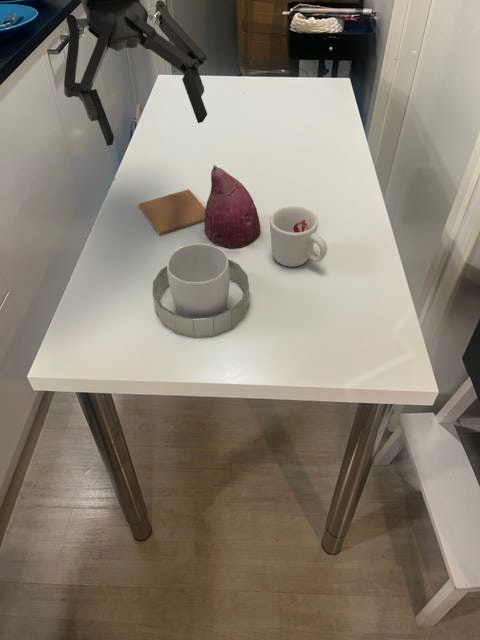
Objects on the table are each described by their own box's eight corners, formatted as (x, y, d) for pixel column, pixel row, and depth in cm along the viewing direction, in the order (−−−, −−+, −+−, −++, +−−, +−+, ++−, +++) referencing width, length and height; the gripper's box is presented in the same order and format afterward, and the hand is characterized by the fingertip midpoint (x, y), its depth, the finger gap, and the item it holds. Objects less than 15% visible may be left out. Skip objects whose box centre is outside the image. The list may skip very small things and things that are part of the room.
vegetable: (204, 258, 92) (174, 195, 81) (215, 220, 98) (188, 156, 87) (258, 253, 89) (234, 187, 78) (266, 214, 95) (245, 147, 84)
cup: (336, 263, 86) (342, 225, 80) (307, 286, 82) (312, 248, 76) (287, 237, 91) (290, 200, 85) (259, 258, 87) (259, 220, 81)
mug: (231, 330, 75) (229, 281, 68) (172, 333, 75) (164, 284, 68) (229, 275, 84) (227, 227, 77) (176, 277, 84) (169, 229, 77)
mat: (159, 235, 92) (158, 233, 92) (138, 206, 99) (138, 203, 98) (212, 218, 95) (212, 216, 95) (189, 191, 102) (188, 189, 102)
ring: (178, 350, 73) (175, 332, 70) (142, 290, 82) (138, 272, 79) (265, 315, 77) (266, 297, 75) (222, 262, 86) (221, 244, 84)
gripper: (181, -17, 74) (230, 120, 76) (10, 9, 66) (68, 161, 68) (192, -54, 67) (246, 98, 69) (2, -31, 59) (68, 141, 61)
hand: (158, 130), depth 69 cm, fingers open, 13 cm apart
